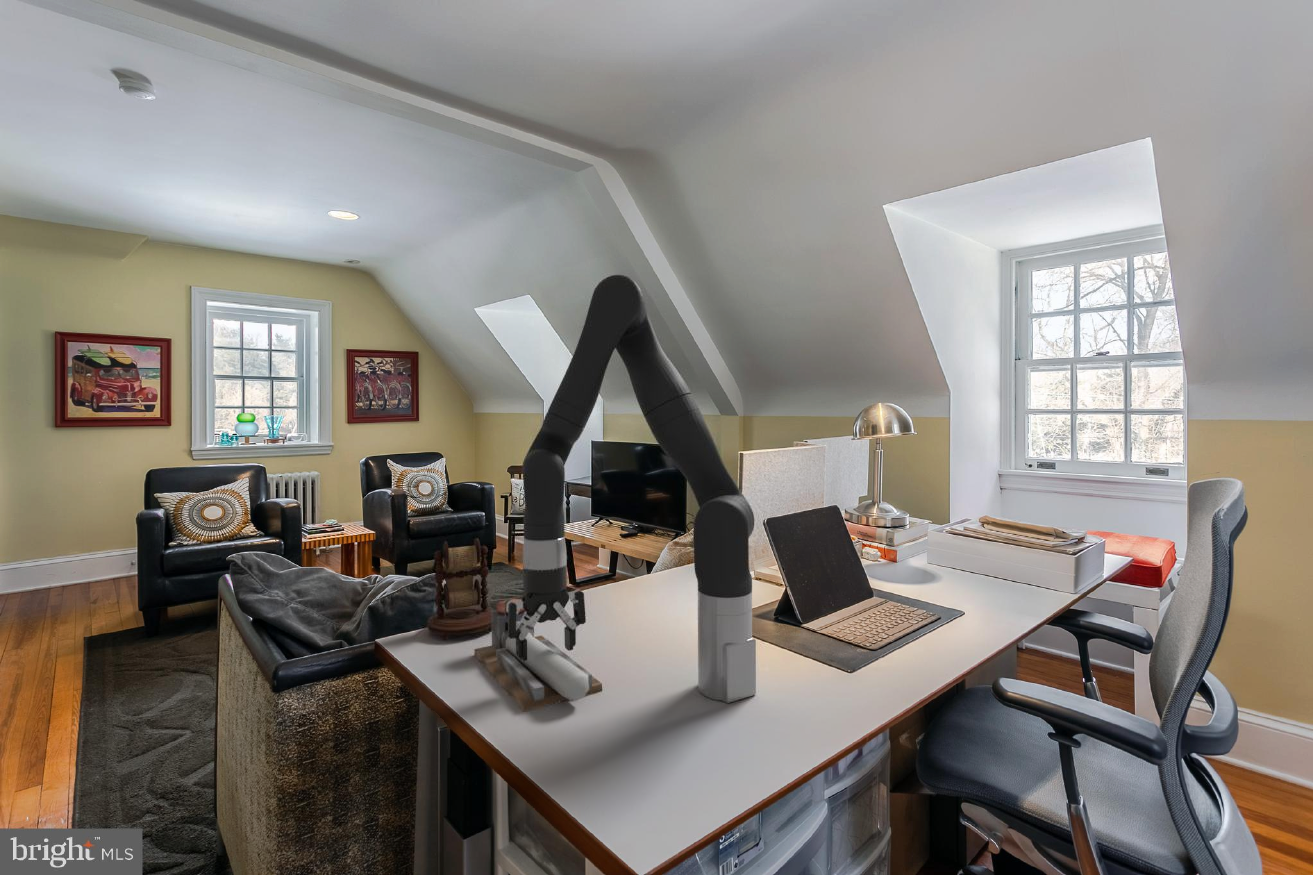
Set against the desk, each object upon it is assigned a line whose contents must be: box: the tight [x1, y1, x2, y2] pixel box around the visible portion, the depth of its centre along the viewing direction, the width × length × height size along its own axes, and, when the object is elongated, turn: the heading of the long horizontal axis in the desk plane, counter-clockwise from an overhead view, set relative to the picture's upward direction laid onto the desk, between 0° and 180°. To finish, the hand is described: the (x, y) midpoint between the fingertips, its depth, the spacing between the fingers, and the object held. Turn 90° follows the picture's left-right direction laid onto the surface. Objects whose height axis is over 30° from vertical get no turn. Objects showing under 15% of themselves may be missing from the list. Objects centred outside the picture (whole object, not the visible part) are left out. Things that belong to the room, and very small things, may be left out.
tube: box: [506, 633, 589, 702], centre depth 113 cm, size 5×5×25 cm
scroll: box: [426, 537, 492, 642], centre depth 141 cm, size 15×15×20 cm
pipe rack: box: [473, 598, 603, 712], centre depth 118 cm, size 28×14×10 cm, turn 32°
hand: (546, 654), depth 112 cm, fingers open, 8 cm apart
